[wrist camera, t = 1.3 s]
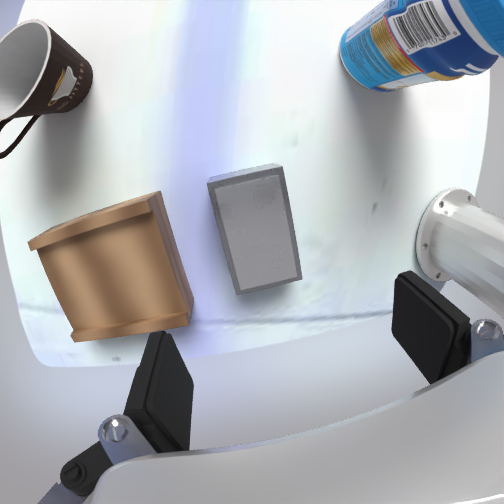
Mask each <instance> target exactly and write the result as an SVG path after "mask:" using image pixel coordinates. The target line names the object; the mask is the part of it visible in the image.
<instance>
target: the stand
mask: <svg viewBox="0 0 504 504" xmlns="http://www.w3.org/2000/svg"><path fill="white" fill-rule="evenodd" d="M28 245H29V248H30V250H31V251H33V250H35V249H37V252H38V254H39V257H40V260H41V262H42V265H43V267H44V269H45V272H46V274H47V277H48V279H49V281H50V283H51V286H52V288H53V290H54V292H55V294H56V297H57V299H58V301H59V303H60V305H61V307H62V309H63V311H64V313H65V315H66V317H67V319H68V320H69V322H70V324H71V326H72V328H73V330H74V331H73V332H72V333H71V335H70V336H71V337H72V339H73V341H74V342H83V341H91V340H99V339H107V338H114V337H121V336H128V335H135V334H141V333H148V332H154V331H160V330H166V329H171V328H177V327H183V326H188V325H189V323H190V318H191V312H192V307H193V301H194V298H193V295H192V292H191V289H190V286H189V283H188V280H187V277H186V274H185V271H184V268H183V265H182V262H181V259H180V255H179V252H178V249H177V246H176V243H175V239H174V236H173V233H172V229H171V226H170V223H169V219H168V216H167V212H166V209H165V205H164V202H163V198H162V194H161V191H157V192H154V193H151V194H147V195H144V196H141V197H137V198H134V199H131V200H128V201H125V202H122V203H118V204H115V205H112V206H109V207H106V208H103V209H101V210H98V211H95V212H92V213H89V214H86V215H84V216H81V217H78V218H75V219H73V220H70V221H67V222H65V223H62V224H60V225H57V226H54V227H52V228H50V229H48V230H47V231H45V232H43V233H42V234H40V235H38V236H36V237H35V238H33V239H31V240H30V241H28Z"/></svg>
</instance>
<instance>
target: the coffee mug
mask: <svg viewBox="0 0 504 504" xmlns="http://www.w3.org/2000/svg"><path fill="white" fill-rule="evenodd" d="M92 79H93V71H92V67H91V65H90V64H89V62H88V61H87V60H86V59H85V58H83V57H82V56H81V55H80V54H79V53H78V52H77V51H76V50H75V49H74V48H72V47H71V46H70V45H69V44H68V43H67V42H66V41H65V40H64V39H62V38H61V37H60V36H59V35H58V34H57V33H56V32H55V31H53V30H52V29H51V28H50V27H49V26H48V25H47V24H45V23H44V22H43V21H41V20H28V21H25V22H23V23H21V24H19V25H17V26H16V27H14V28H13V29H12V30H10V31H9V32H8V33H7V34H6V35H5V36H4V37H3V38H2V39H1V41H0V120H1V121H0V132H1V130H2V128H3V127H4V126H5V125H6V124H7V123H8V122H10V121H11V120H12V119H14V118H19V117H26V116H33V115H34V116H33V117H32V119H31V120H30V121H29V122H28V124H27V125H26V126H25V128H24V129H23V130H22V132H21V133H20V134H19V136H18V137H17V139H16V140H15V141H14V142H13V143H12V144H11V145H10V146H9V147H8V148H7V149H6V150H5V151H4V152H1V153H0V159H2V158H4V157H6V156H7V155H8V154H9V153H11V152H12V151H13V149H14V148H15V147H16V146H17V145H18V144H19V143H20V141H21V140H22V139H23V137H24V136H25V135H26V133H27V132H28V130H29V129H30V128H31V126H32V125H33V124H34V122H35V121H36V120H37V119H38V118H39V117H40V116H41V115H42V114H52V113H63V112H68V111H70V110H72V109H74V108H75V107H77V106H78V105H79V104H80V103H81V102H82V101H83V100H84V98H85V97H86V95H87V94H88V92H89V89H90V87H91V84H92Z"/></svg>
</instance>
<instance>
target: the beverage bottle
mask: <svg viewBox="0 0 504 504" xmlns="http://www.w3.org/2000/svg"><path fill="white" fill-rule="evenodd" d="M339 52H340V57H341V60H342V62H343V65H344V67H345V68H346V70H347V71H348V73H349V74H350V75H351V76H352V77H353V78H354V79H355V80H356V81H357V82H358V83H359V84H361V85H362V86H364V87H366V88H368V89H370V90H373V91H377V92H390V91H394V90H397V89H400V88H404V87H408V86H413V85H418V84H423V83H428V82H433V81H439V80H440V81H450V80H455V79H458V78H461V77H462V76H464V75H478V74H481V73H483V72H484V71H486V70H487V69H489V68H490V67H491V66H492V65H493V64H494V63H495V62H496V60H497V59H498V57H499V56H500V57H502V58H504V0H384V1H383V2H381V3H380V4H379V5H378V6H376V7H375V8H374V9H373V10H371V11H370V12H369V13H368V14H366V15H365V16H364V17H363V18H361V19H360V20H359V21H358V22H357V23H355V24H354V25H353V26H351V27H350V28H349V29H347V30H346V31H345V32H344V34H343V35H342V37H341V40H340V44H339Z"/></svg>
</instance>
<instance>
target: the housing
mask: <svg viewBox="0 0 504 504" xmlns="http://www.w3.org/2000/svg"><path fill="white" fill-rule="evenodd" d="M207 186H208V190H209V194H210V198H211V202H212V206H213V209H214V213H215V217H216V221H217V225H218V229H219V232H220V236H221V240H222V244H223V247H224V251H225V255H226V258H227V262H228V266H229V269H230V273H231V277H232V280H233V284H234V287H235V291H236V295H239V294H244V293H248V292H252V291H257V290H261V289H265V288H269V287H273V286H278V285H282V284H286V283H290V282H294V281H298V280H302V272H301V266H300V260H299V254H298V248H297V242H296V236H295V230H294V224H293V219H292V213H291V208H290V202H289V197H288V192H287V187H286V182H285V177H284V172H283V167H282V166H280V165H277V164H273V163H271V164H267V165H262V166H257V167H253V168H248V169H244V170H239V171H235V172H231V173H226V174H222V175H218V176H214V177H210V179H209V181H208V182H207Z"/></svg>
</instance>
